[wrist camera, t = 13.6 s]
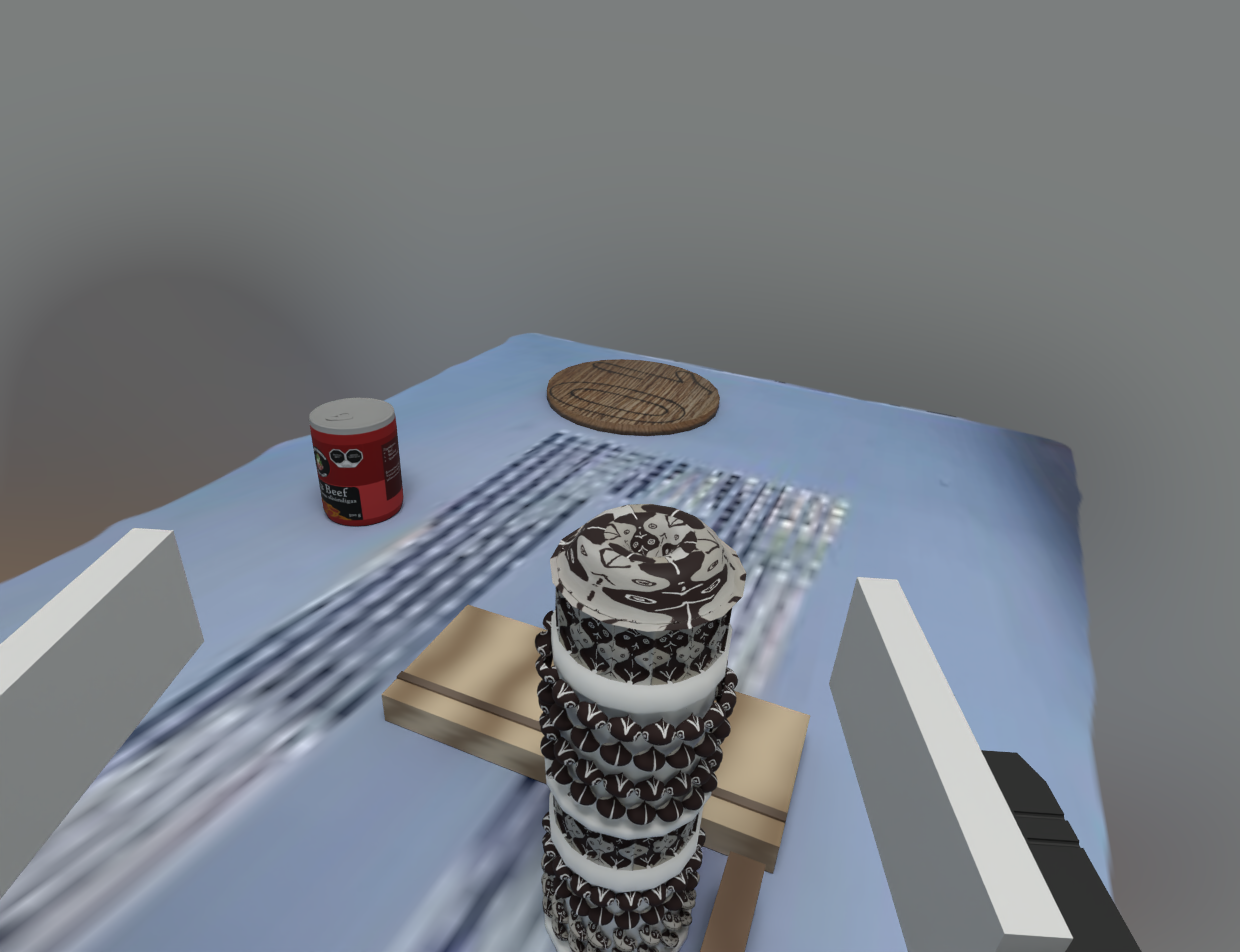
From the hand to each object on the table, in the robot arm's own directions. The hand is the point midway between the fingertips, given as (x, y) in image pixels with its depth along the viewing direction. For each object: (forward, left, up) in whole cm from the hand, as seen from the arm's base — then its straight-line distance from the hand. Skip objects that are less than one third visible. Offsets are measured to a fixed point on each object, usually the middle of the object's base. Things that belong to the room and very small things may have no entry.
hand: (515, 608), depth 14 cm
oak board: (-8, +25, -32) cm, 41 cm away
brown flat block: (+5, +14, -32) cm, 35 cm away
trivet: (-28, +84, -33) cm, 94 cm away
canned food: (-42, +42, -32) cm, 67 cm away
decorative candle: (-2, +14, -32) cm, 35 cm away
